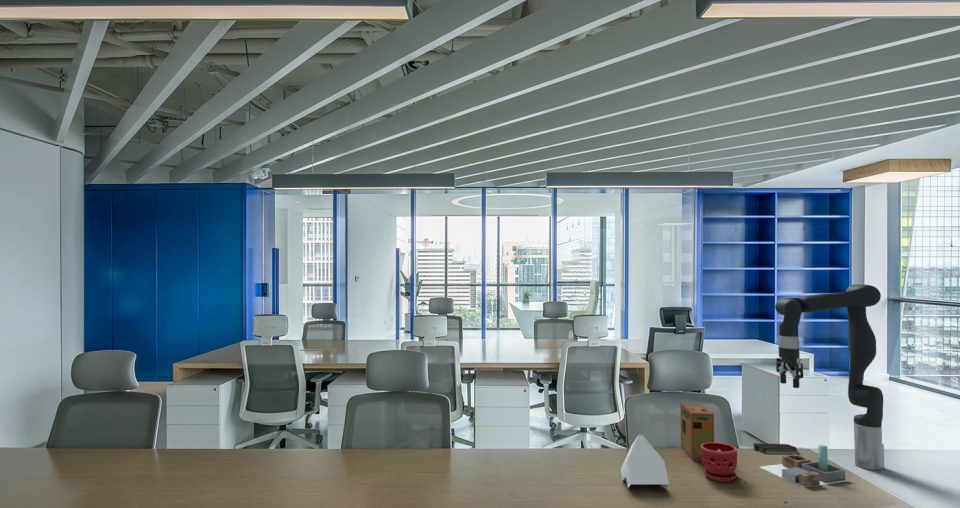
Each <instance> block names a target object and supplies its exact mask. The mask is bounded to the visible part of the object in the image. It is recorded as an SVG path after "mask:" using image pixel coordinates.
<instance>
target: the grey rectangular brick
mask: <svg viewBox="0 0 960 508" xmlns="http://www.w3.org/2000/svg"><path fill="white" fill-rule="evenodd" d="M807 472H808V471H806V470H803V469H801V468H799V467H798V468H789V469H782V479H784V478H785V479H784V480H786V479H787V480H786V481H788V480H789V481H788V482H790V481H791V483H792V482H793V484H794V483H799V473H807Z"/></svg>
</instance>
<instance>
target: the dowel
mask: <svg viewBox="0 0 960 508" xmlns="http://www.w3.org/2000/svg"><path fill="white" fill-rule="evenodd" d="M817 457H818V458H817V462H818V470H820V471H823V472H828V464H829V462H828V446H827V445H825V444H824V445H823V444H818V445H817Z"/></svg>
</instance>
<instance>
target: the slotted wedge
mask: <svg viewBox="0 0 960 508" xmlns="http://www.w3.org/2000/svg"><path fill="white" fill-rule="evenodd" d="M667 472H668V471H667V468H666V464H665V460H664V458H662V456H661V455H660V454H659V452H657V451H656V449H655V448H654V447H653V446H652V445H651V443H650V442H649V441H648V440H647V438H646V437H645V436H644V435H643V434H638V435H637V437H636V438H635V440H633V442H632V444H631V446H630V448H629V450H628V453H627V455H626V457H625V459H624V461H623V464H622V466H621V468H620V473H621V479H622V481H626V485H627V489H629V487H630V486H631V485H664V489H666V488H667V487H668V486H669V485H670V482H669V477H668V473H667Z"/></svg>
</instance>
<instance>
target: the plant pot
mask: <svg viewBox="0 0 960 508" xmlns="http://www.w3.org/2000/svg"><path fill="white" fill-rule="evenodd" d="M712 450H713V451H712ZM719 450H720V451H719ZM701 457H702V461H701V462H702V464H703V467H704V470H703V473H704V475H705V476H706V477H707V478H708V479H710V480H713V481H717V482H724V483H725V482H732V481H735V480H736V478H737V473H736V470H737V464H738V449H737V447H736V446H733V445H732V444H728V443H723V442H715V441H714V442H708V443H703V444H701Z"/></svg>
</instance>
